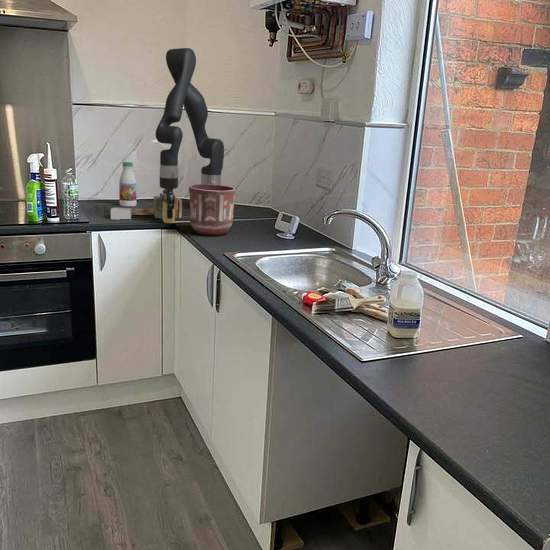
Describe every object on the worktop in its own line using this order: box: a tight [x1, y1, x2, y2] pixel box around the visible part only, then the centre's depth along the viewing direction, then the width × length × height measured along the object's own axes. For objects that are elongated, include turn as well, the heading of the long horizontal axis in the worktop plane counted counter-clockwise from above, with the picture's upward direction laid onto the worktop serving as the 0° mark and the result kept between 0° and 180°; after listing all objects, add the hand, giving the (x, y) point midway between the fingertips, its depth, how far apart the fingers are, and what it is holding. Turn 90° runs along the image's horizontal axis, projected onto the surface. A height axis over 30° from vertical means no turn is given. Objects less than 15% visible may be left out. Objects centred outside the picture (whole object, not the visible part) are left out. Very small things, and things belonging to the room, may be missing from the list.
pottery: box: [188, 183, 237, 237], centre depth 222 cm, size 18×18×18 cm
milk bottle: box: [118, 161, 137, 208], centre depth 264 cm, size 8×8×20 cm
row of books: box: [109, 192, 183, 219], centre depth 243 cm, size 30×8×10 cm, turn 110°
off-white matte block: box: [110, 207, 133, 220], centre depth 239 cm, size 8×6×4 cm
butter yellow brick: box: [162, 201, 176, 224], centre depth 236 cm, size 4×5×8 cm
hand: (168, 216), depth 237 cm, fingers closed on butter yellow brick, 5 cm apart
